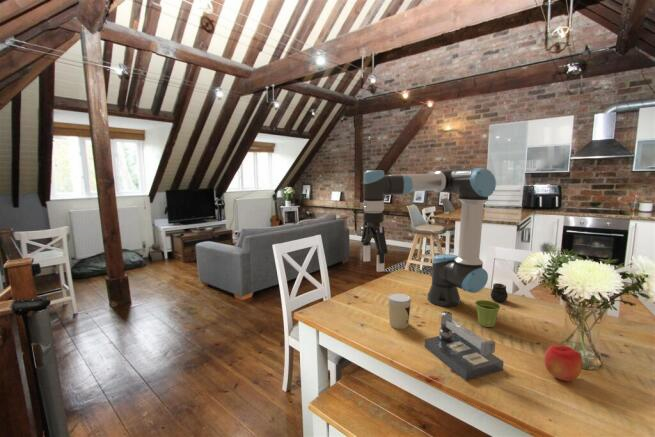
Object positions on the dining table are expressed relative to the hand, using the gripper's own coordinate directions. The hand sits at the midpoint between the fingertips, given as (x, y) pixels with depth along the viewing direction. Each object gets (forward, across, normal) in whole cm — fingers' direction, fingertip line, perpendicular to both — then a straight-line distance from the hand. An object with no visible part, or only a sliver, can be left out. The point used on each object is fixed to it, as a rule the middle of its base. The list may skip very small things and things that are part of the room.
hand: (373, 266), depth 119 cm
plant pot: (+28, +6, +48) cm, 56 cm away
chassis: (+28, +24, +23) cm, 43 cm away
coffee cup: (+28, -3, +13) cm, 31 cm away
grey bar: (+21, +24, +23) cm, 40 cm away
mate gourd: (+28, -12, +72) cm, 78 cm away
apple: (+28, +41, +45) cm, 67 cm away
